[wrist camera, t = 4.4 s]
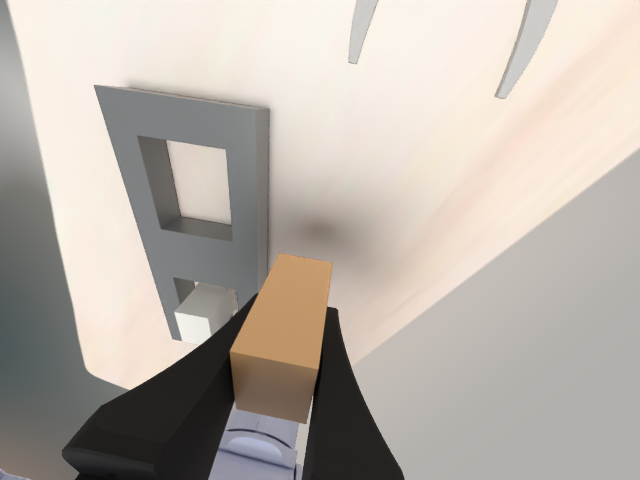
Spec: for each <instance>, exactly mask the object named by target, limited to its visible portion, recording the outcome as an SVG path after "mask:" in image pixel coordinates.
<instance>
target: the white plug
mask: <svg viewBox="0 0 640 480" xmlns="http://www.w3.org/2000/svg"><path fill="white" fill-rule="evenodd" d="M235 309H236V298H235V289H233V288H228V287H222V286H217V285H212V284H206V283H201V282H200V283H199V284H198V285H197V286H196V287H195V289H194V290H193V291H192V292H191V293H190V294H189V296H188V297H187V298H186V299H185V300H184V301H183V302H182V304H181V305H180V306H179V307H178V308H177V309H176V310H175V312H174V313H175V317H176V320H177V324H178V327H179V331H180V334H181V338H182V341H183V342H188V343H193V344H198V345H201V344H202V343H203V342H205V341H206V340H207V339H208V338H210V337H211V336H212V335H213V334H214V333H215V332H217V331H218V330H219V329H220V328H221V327H222V326H224V325H225V324H226V323H227V322H228V321H229V320H230V318H231V316H232V314H233V313H234V311H235Z"/></svg>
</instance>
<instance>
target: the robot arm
mask: <svg viewBox="0 0 640 480" xmlns="http://www.w3.org/2000/svg"><path fill="white" fill-rule="evenodd" d="M258 294H259V293H256V294H254V296H253V297H252V298H251V299H250V300H249V301H248V302H247V303H246V304H245V305H244V306H243V307H242V308H241V309H240V310H239V311H238V312H237V313H236V314H235V315H234V316H233V317H232V318H231V319H230V320H229V321H228V322H227V323H226V324H225V325H224V326H222V327H221V328H220V329H219V330H218V331H217V332H215V333H214V334H213V335H212V336H211V337H210V338H208V339H207V340H206V341H205V342H203V343H202V344H201V345H200V346H198V347H197V348H196V349H194V350H193V351H192V352H190V353H189V354H187V355H186V356H185V357H183V358H182V359H180V360H179V361H177V362H176V363H174V364H173V365H171V366H170V367H168V368H167V369H165V370H164V371H162V372H160V373H159V374H157V375H155V376H154V377H152V378H151V379H149V380H147V381H146V382H144V383H142V384H141V385H139V386H137V387H135V388H134V389H132V390H130V391H128V392H126V393H124V394H122V395H121V396H119V397H117V398H115V399H113V400H111V401H109V402H108V403H106V404H104V405H102V406H100V408H99V409H98V410H97V411H96V412H95V413H94V414H93V415H92V416H91V417H90V418H89V419H88V420H87V421H86V423H85V424H84V425H83V426H82V427H81V428H80V430H79V431H78V432H77V433H76V434H75V436H74V437H73V438H72V439H71V440H70V442H69V443H68V444H67V445H66V446H65V447H64V449H63V450H62V456H63V458H64V459H65V460H66V461H67V462H68V463H69V464H70V465H71V466H73V467H74V468H75V469H76V470H77V471H78V472H79V473H80V474H79V475H78V476H77V478H76V479H75V480H404V476H403V473H402V470H401V468H400V467H399V465H398V463H397V462H396V460H395V458H394V457H393V455H392V453H391V451H390V449H389V448H388V446H387V444H386V442H385V440H384V439H383V437H382V435H381V433H380V431H379V429H378V427H377V425H376V423H375V421H374V419H373V417H372V415H371V413H370V411H369V409H368V407H367V405H366V403H365V401H364V398H363V396H362V394H361V391H360V389H359V386H358V384H357V382H356V379H355V376H354V374H353V371H352V368H351V365H350V362H349V359H348V356H347V353H346V349H345V345H344V342H343V338H342V334H341V329H340V323H339V316H338V310H337V308H332V307H327V310H326V317H325V325H324V332H323V339H322V347H321V354H320V362H319V369H318V374H317V378H316V383H315V387H314V394H313V405H312V412H311V419H310V426H309V433H308V439H307V446H306V453H305V459H304V466H303V469H302V466H301V465H300V464H296V457H297V451H296V450H294V449H295V443H296V437H297V432H298V425H299V423H298V422H294V421H289V420H284V419H280V418H275V417H270V416H266V415H261V414H256V413H252V412H247V411H242V410H238V409H236V405H235V395H234V386H233V377H232V368H231V359H230V350H231V348H232V346H233V344H234V342H235V340H236V338H237V336H238V334H239V332H240V330H241V328H242V326H243V324H244V322H245V320H246V318H247V316H248V314H249V312H250V310H251V308H252V306H253V304H254V302H255V300H256V298H257V296H258ZM0 480H32V479H28V478H23V477H19V476H15V475H10V474H6V473H4V470H2V469H1V468H0Z"/></svg>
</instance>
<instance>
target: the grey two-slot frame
mask: <svg viewBox="0 0 640 480" xmlns="http://www.w3.org/2000/svg"><path fill="white" fill-rule="evenodd" d="M94 88H95V91H96V94H97V98H98V101H99V104H100V107H101V111H102V114H103V117H104V120H105V123H106V127H107V130H108V133H109V136H110V140H111V143H112V146H113V149H114V152H115V156H116V159H117V162H118V165H119V168H120V172H121V175H122V178H123V181H124V185H125V188H126V191H127V194H128V197H129V201H130V204H131V207H132V210H133V214H134V217H135V220H136V223H137V226H138V230H139V233H140V236H141V239H142V242H143V246H144V249H145V252H146V255H147V259H148V262H149V265H150V268H151V271H152V275H153V278H154V281H155V284H156V288H157V291H158V294H159V297H160V300H161V304H162V307H163V310H164V313H165V316H166V320H167V323H168V326H169V329H170V333H171V336H172V339H174V340H179V341H182V338H181V334H180V331H179V327H178V324H177V320H176V317H175V313H174V312H175V310H176V309H177V308H178V307H179V306H180V305H181V304H182V302H183V301H184V300H185V299H186V298H187V297H188V296H189V294H190V293H191V292H192V291H193V290H194V289H195V286H194V281H196V282H201V283H206V284H212V285H217V286H222V287H228V288H233V289H237V300H238V311H239V310H240V309H241V308H242V307H243V306H244V305H245V304H246V303H247V302H248V301H249V300H250V299H251V298H252V297H253V296H254V294H256V293H259V292H260V290H261V288H262V286H263V284H264V282H265V280H266V278H267V250H268V171H269V109H267V108H260V107H254V106H247V105H241V104H234V103H227V102H221V101H214V100H207V99H201V98H194V97H187V96H181V95H174V94H167V93H161V92H154V91H147V90H141V89H134V88H127V87H114V86H101V85H94ZM166 140H170V141H177V142H183V143H189V144H195V145H202V146H208V147H214V148H220V149H226V157H227V170H228V183H229V196H230V209H231V222H232V225H226V224H221V223H215V222H209V221H203V220H198V219H192V218H186V217H181V216H180V211H179V206H178V201H177V196H176V191H175V186H174V181H173V176H172V171H171V166H170V161H169V156H168V151H167V145H166ZM231 318H232V316H231ZM231 318H230V319H231Z"/></svg>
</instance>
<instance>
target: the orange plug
mask: <svg viewBox="0 0 640 480" xmlns="http://www.w3.org/2000/svg"><path fill="white" fill-rule="evenodd" d="M332 265H333V263H331V262H326V261H320V260H315V259H309V258H304V257H299V256H293V255H288V254H282V253H279V255H278V257H277V259H276V261H275V263H274V265H273V267H272V269H271V271H270V272H269V274H268V276H267V278H266V280H265V282H264V284H263V286H262V288H261V290H260V292H259V294H258V296H257V298H256V300H255V302H254V304H253V306H252V308H251V310H250V312H249V314H248V316H247V318H246V320H245V322H244V324H243V326H242V328H241V330H240V332H239V334H238V336H237V338H236V340H235V342H234V344H233V346H232V348H231V350H230V359H231V368H232V377H233V386H234V395H235V405H236V409H238V410H242V411H247V412H252V413H256V414H261V415H266V416H270V417H275V418H280V419H284V420H289V421H294V422H298V423H304V424H306V423H307V418H308V413H309V409H310V405H311V400H312V396H313V391H314V387H315V383H316V378H317V374H318V369H319V362H320V354H321V347H322V339H323V332H324V325H325V317H326V310H327V302H328V295H329V288H330V280H331V273H332Z"/></svg>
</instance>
